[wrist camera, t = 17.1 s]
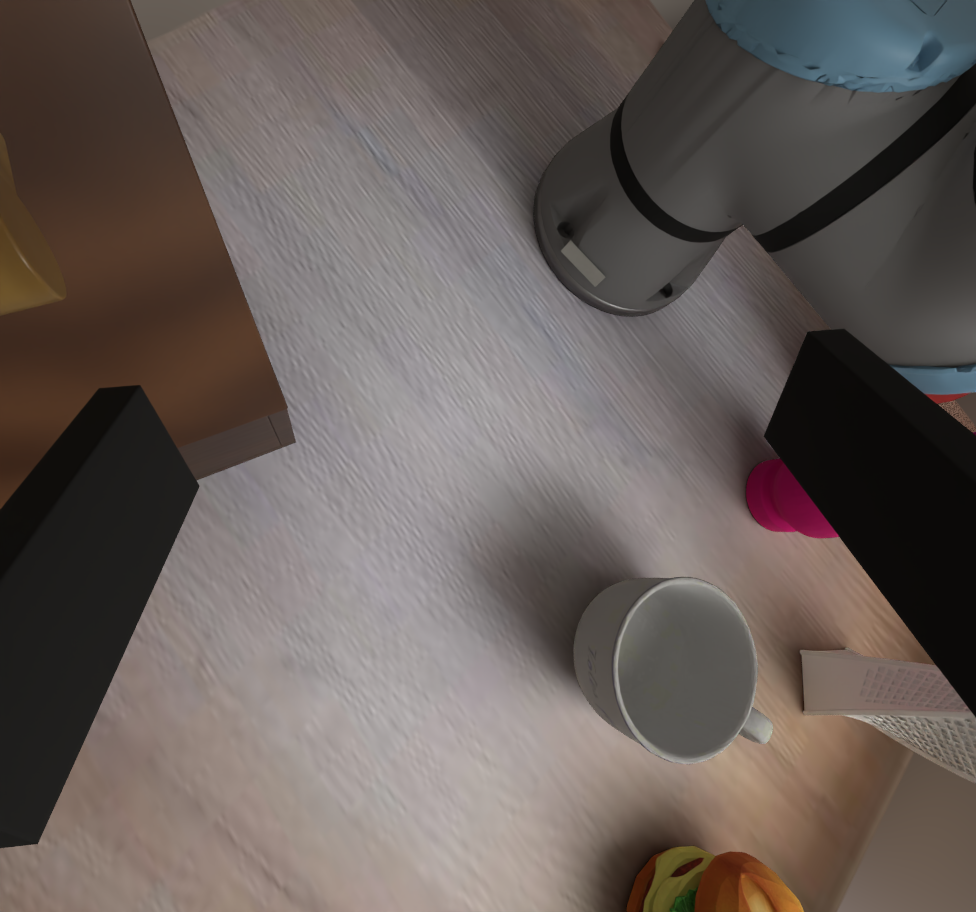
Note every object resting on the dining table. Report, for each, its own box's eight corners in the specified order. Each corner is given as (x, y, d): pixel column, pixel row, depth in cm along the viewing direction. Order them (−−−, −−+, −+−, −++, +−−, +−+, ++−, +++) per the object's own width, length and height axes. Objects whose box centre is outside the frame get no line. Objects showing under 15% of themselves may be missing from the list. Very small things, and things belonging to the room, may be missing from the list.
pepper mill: (756, 548, 44) (1083, 565, 25) (729, 468, 44) (1033, 423, 25) (815, 521, 46) (1154, 518, 28) (789, 445, 47) (1108, 389, 28)
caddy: (-27, 304, 29) (-211, 185, 19) (209, 247, 34) (161, 125, 23) (74, 527, 29) (-57, 527, 19) (296, 442, 34) (286, 405, 23)
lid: (-1026, 8, 6) (-1636, 333, 4) (107, -53, 11) (184, 83, 8) (-66, 518, 19) (-56, 676, 16) (282, 396, 23) (334, 506, 21)
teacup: (526, 644, 37) (580, 674, 29) (621, 539, 40) (692, 541, 33) (646, 780, 38) (727, 843, 31) (728, 668, 42) (819, 698, 34)
